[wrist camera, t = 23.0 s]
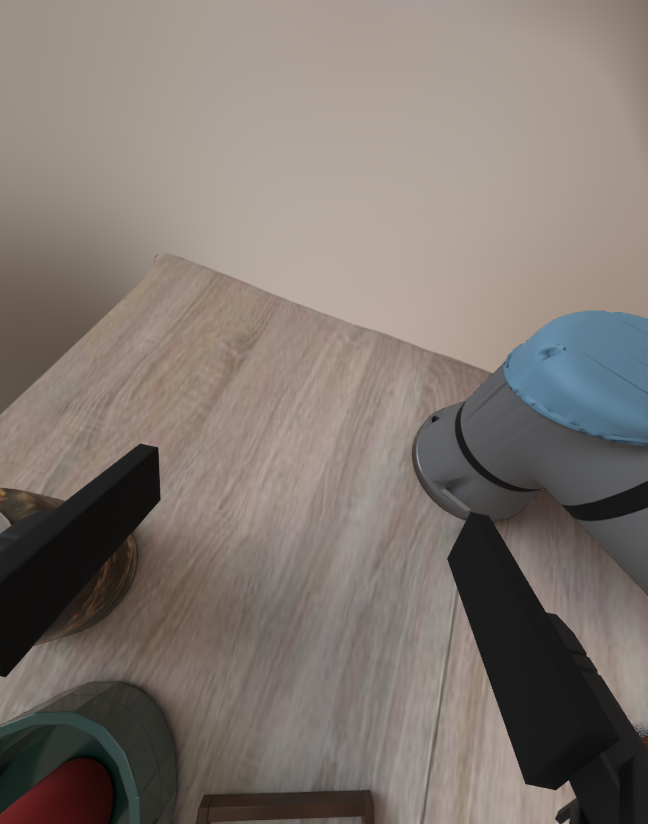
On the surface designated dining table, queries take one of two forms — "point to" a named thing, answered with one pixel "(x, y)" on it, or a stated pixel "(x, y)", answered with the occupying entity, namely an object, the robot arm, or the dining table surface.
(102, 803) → the beer can
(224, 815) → the brown square frame
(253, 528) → the dining table surface
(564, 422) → the robot arm
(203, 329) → the dining table surface
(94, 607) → the jar
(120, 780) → the green bowl
